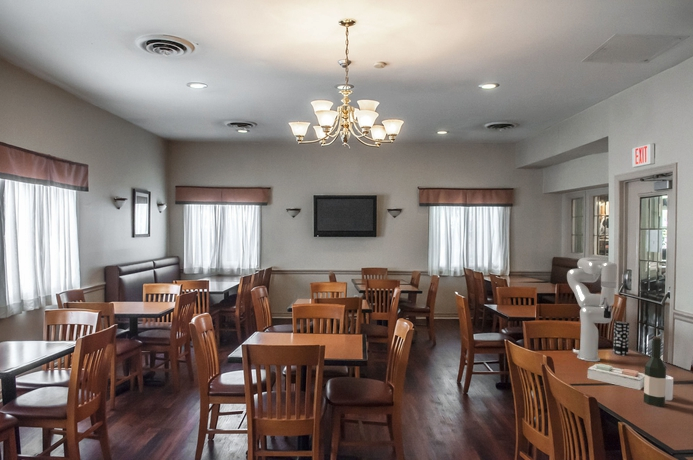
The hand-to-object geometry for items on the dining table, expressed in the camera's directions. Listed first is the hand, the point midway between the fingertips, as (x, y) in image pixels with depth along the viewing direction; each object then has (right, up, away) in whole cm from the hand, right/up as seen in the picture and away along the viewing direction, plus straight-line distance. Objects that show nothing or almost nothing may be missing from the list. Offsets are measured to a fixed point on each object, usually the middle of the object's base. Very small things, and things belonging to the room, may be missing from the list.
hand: (607, 317), depth 268 cm
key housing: (-5, -29, -19) cm, 35 cm away
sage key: (-10, -25, -15) cm, 31 cm away
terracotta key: (-1, -26, -23) cm, 35 cm away
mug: (+4, -30, -40) cm, 50 cm away
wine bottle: (-6, -30, -50) cm, 58 cm away
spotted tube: (+29, -30, +38) cm, 56 cm away
